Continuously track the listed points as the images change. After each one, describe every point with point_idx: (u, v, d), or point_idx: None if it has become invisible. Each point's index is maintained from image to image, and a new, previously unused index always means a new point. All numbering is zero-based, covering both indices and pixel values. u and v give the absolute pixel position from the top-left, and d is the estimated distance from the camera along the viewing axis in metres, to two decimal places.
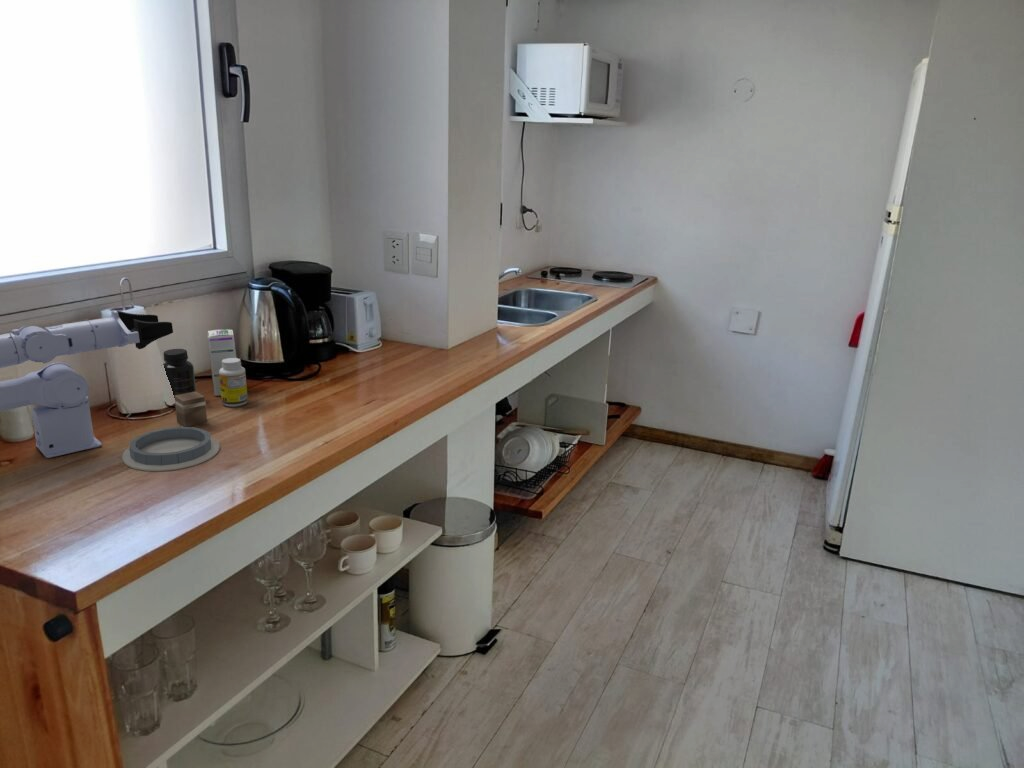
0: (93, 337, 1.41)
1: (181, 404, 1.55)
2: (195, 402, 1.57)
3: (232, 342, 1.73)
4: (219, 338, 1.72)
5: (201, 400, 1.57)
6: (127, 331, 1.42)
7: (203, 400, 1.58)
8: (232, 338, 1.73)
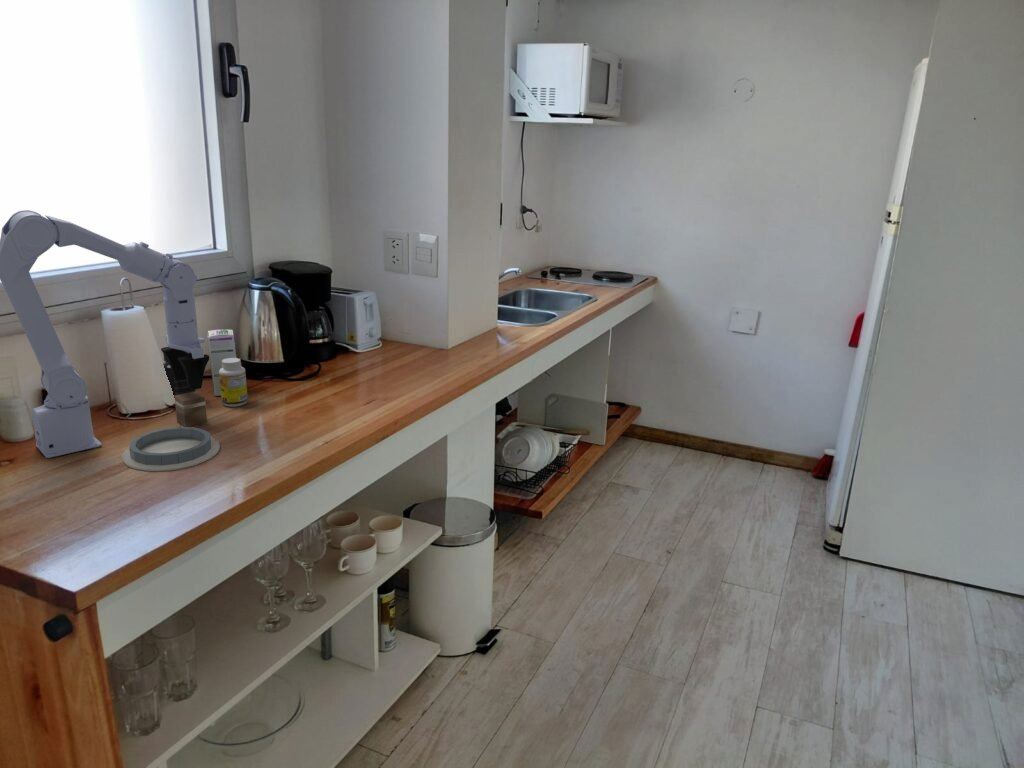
0: (186, 321, 1.51)
1: (181, 404, 1.55)
2: (195, 402, 1.57)
3: (232, 342, 1.73)
4: (219, 338, 1.72)
5: (201, 400, 1.57)
6: None
7: (203, 400, 1.58)
8: (232, 338, 1.73)
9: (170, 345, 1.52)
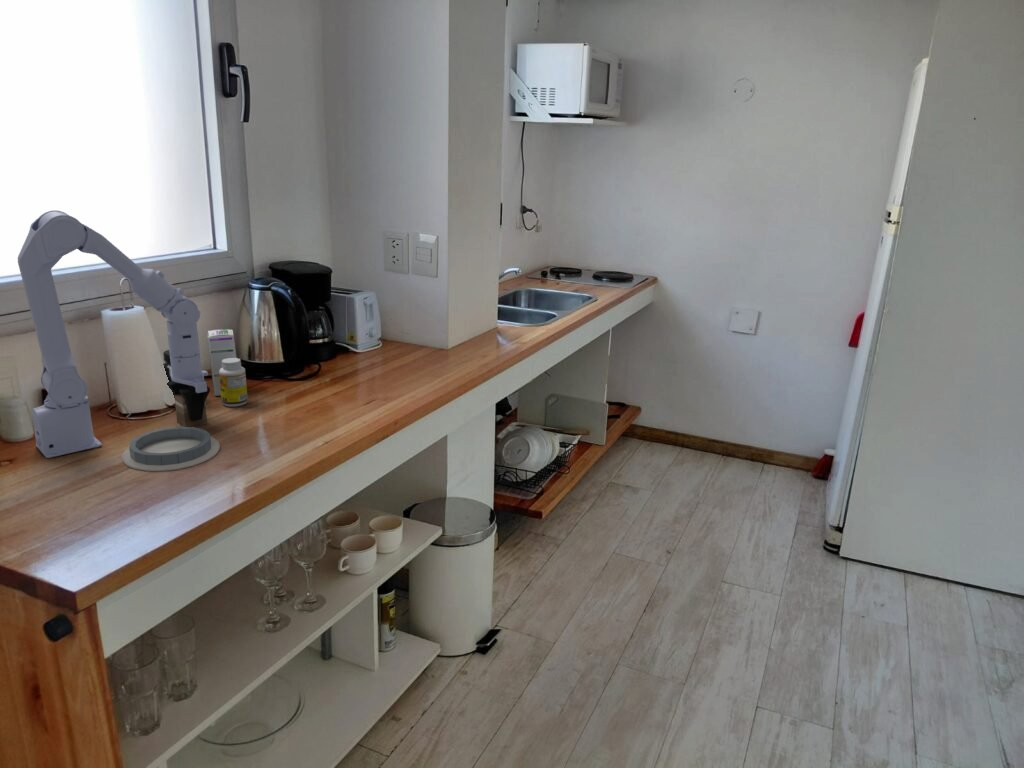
0: (190, 355, 1.53)
1: (181, 404, 1.55)
2: None
3: (232, 342, 1.73)
4: (219, 338, 1.72)
5: None
6: (204, 382, 1.53)
7: None
8: (232, 338, 1.73)
9: (174, 379, 1.54)
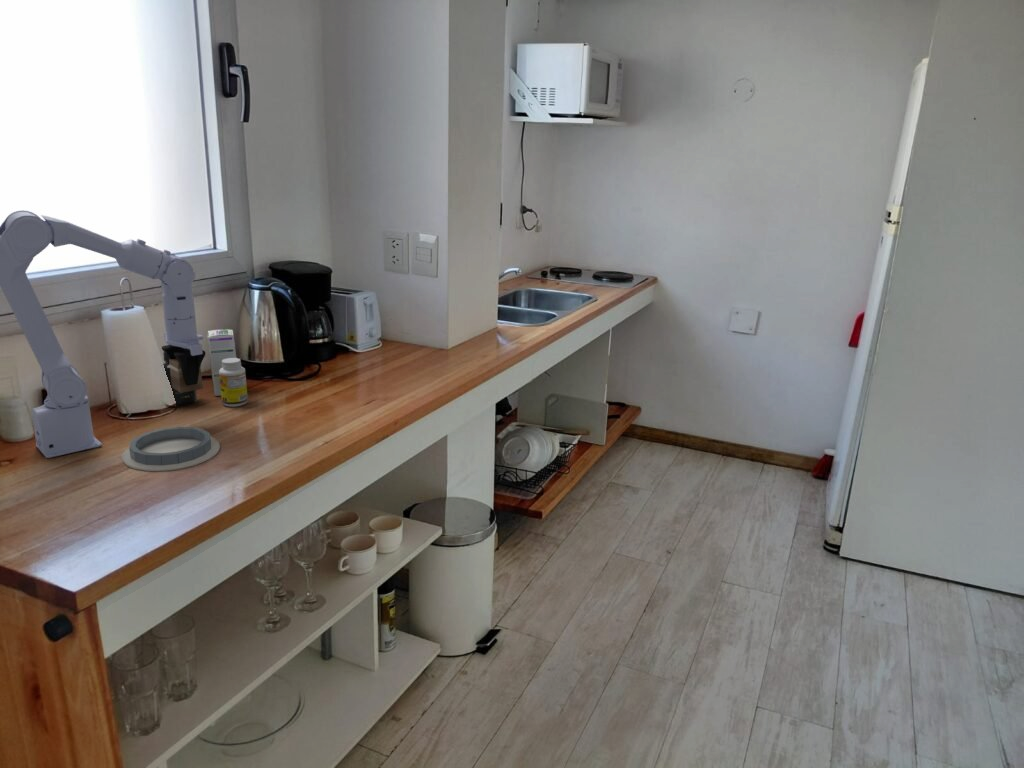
0: (184, 317, 1.50)
1: (176, 368, 1.52)
2: None
3: (232, 342, 1.73)
4: (219, 338, 1.72)
5: None
6: None
7: None
8: (232, 338, 1.73)
9: (168, 342, 1.51)
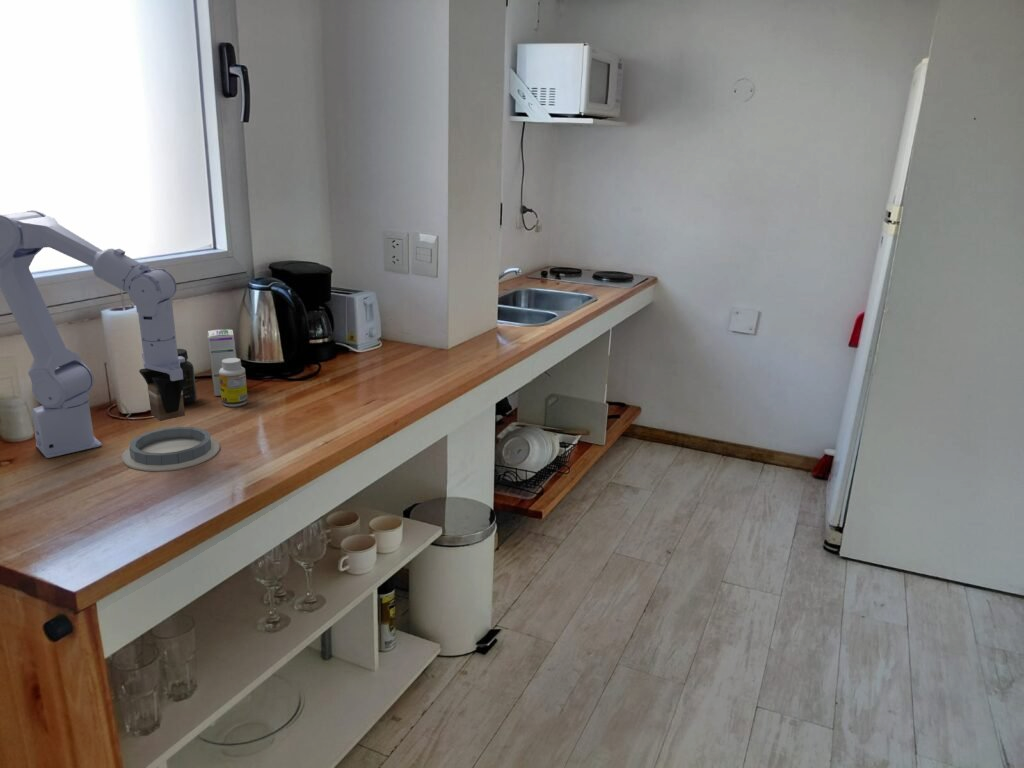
0: (151, 339, 1.35)
1: (155, 393, 1.38)
2: None
3: (232, 342, 1.73)
4: (219, 338, 1.72)
5: None
6: (180, 369, 1.36)
7: None
8: (232, 338, 1.73)
9: (146, 365, 1.37)
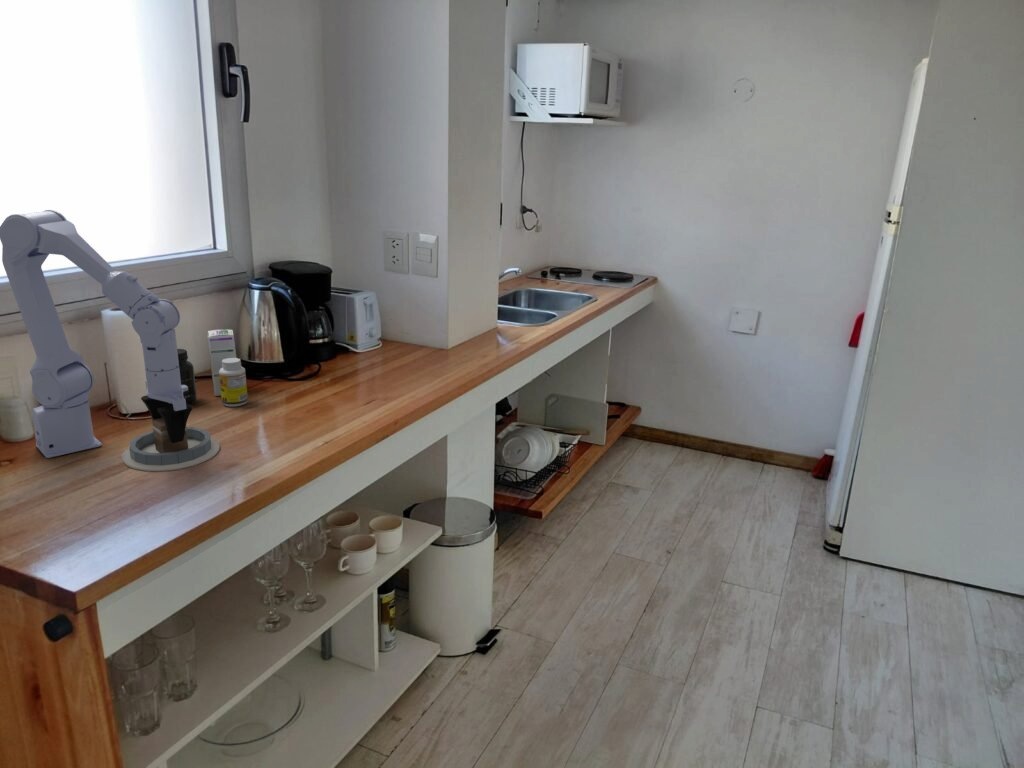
0: (155, 370, 1.37)
1: (159, 430, 1.40)
2: None
3: (232, 342, 1.73)
4: (219, 338, 1.72)
5: None
6: None
7: None
8: (232, 338, 1.73)
9: (150, 395, 1.38)
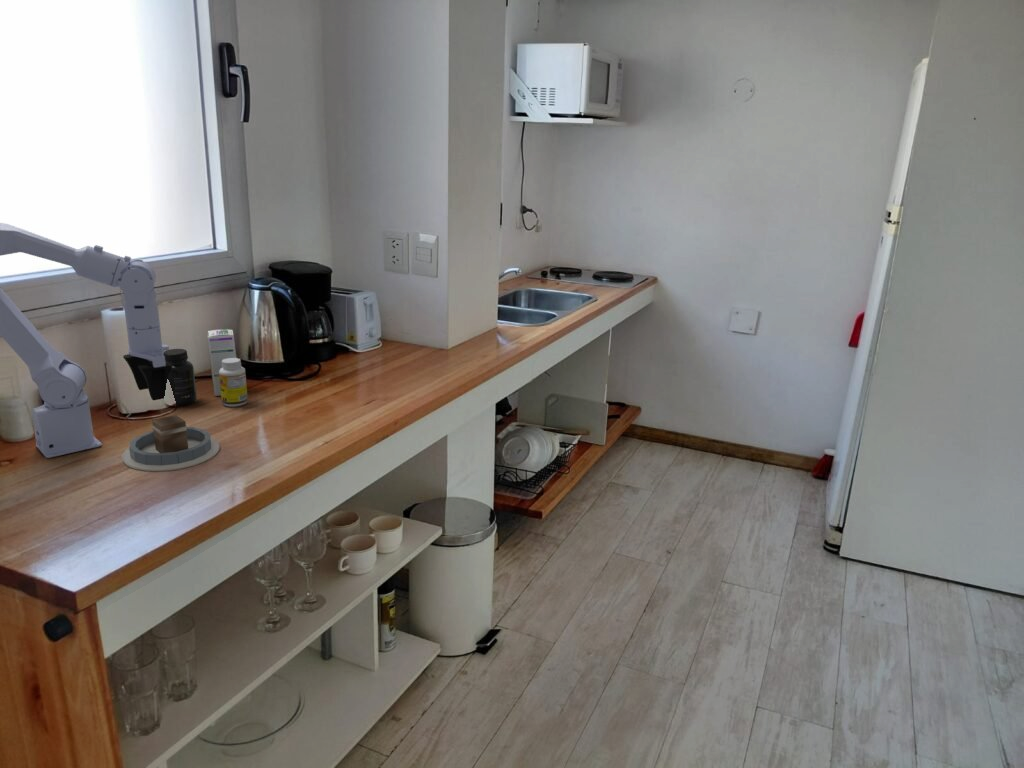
0: (143, 327, 1.41)
1: (159, 430, 1.40)
2: (175, 427, 1.42)
3: (232, 342, 1.73)
4: (219, 338, 1.72)
5: (181, 425, 1.42)
6: None
7: (184, 425, 1.43)
8: (232, 338, 1.73)
9: (131, 352, 1.43)
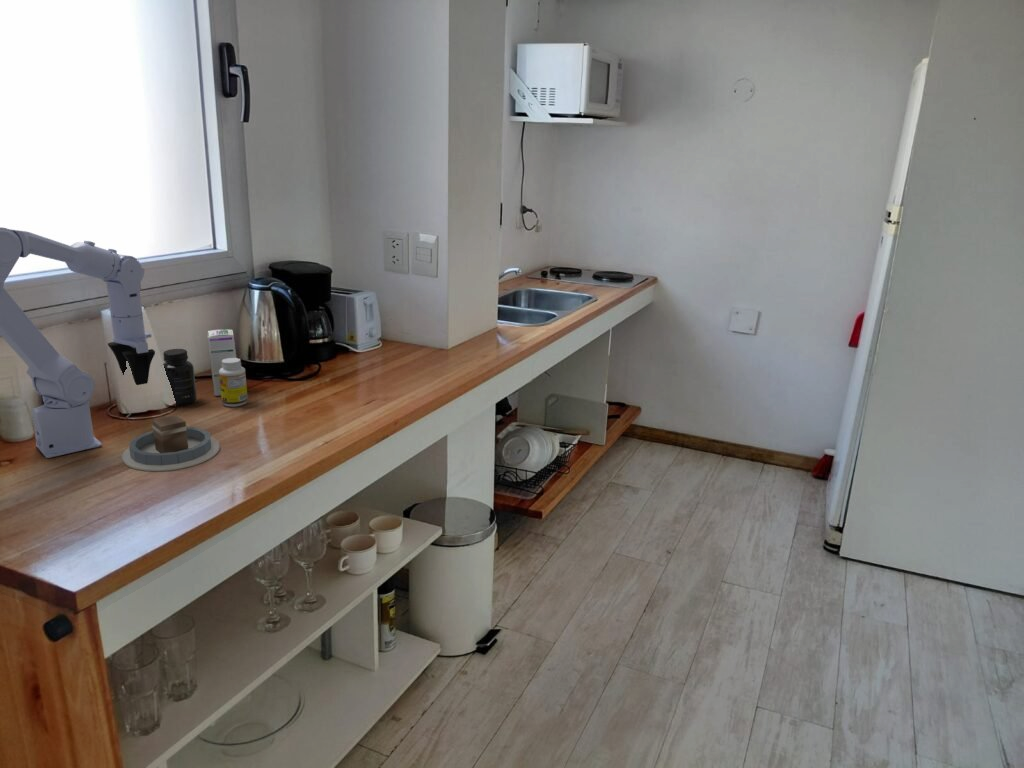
0: (137, 314, 1.51)
1: (159, 430, 1.40)
2: (175, 427, 1.42)
3: (232, 342, 1.73)
4: (219, 338, 1.72)
5: (181, 425, 1.42)
6: None
7: (184, 425, 1.43)
8: (232, 338, 1.73)
9: (115, 340, 1.51)
